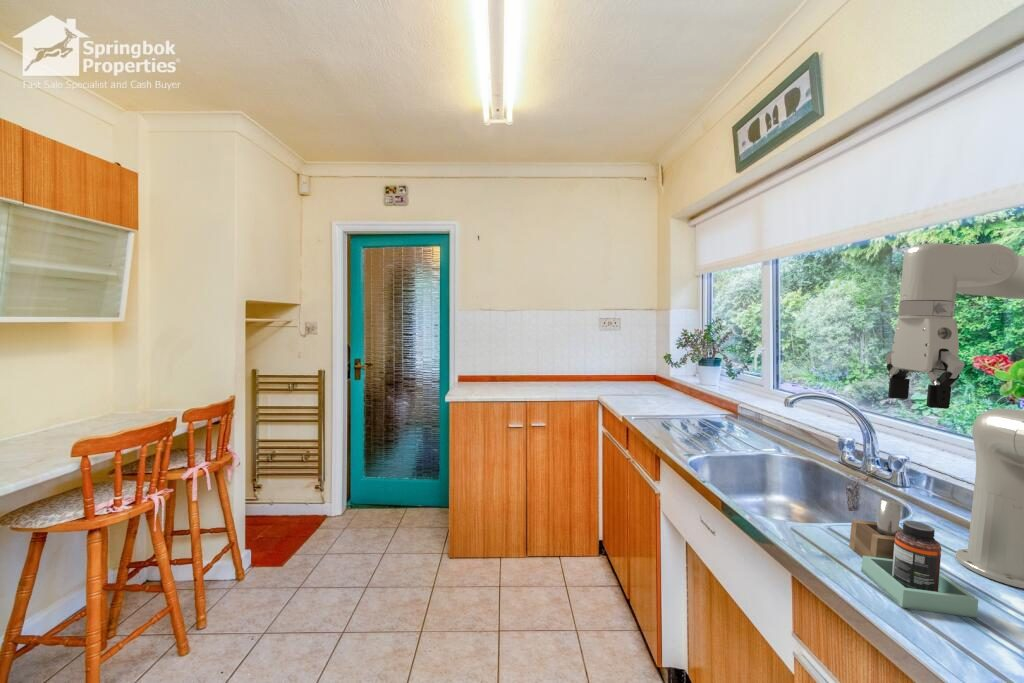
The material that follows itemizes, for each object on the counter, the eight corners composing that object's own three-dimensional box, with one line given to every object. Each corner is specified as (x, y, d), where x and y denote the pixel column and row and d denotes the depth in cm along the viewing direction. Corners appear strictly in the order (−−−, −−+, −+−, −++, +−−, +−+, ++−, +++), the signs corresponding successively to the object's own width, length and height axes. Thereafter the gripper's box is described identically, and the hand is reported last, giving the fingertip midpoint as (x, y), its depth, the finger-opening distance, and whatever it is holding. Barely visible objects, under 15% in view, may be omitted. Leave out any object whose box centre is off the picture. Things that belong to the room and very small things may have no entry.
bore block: (892, 552, 89) (894, 523, 89) (922, 574, 81) (925, 543, 81) (849, 547, 91) (851, 519, 90) (874, 568, 83) (877, 538, 82)
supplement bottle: (918, 580, 78) (923, 519, 78) (947, 601, 72) (954, 535, 72) (882, 576, 79) (887, 516, 78) (909, 597, 73) (915, 531, 73)
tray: (924, 579, 80) (926, 563, 80) (976, 617, 69) (978, 599, 69) (861, 571, 82) (862, 555, 81) (902, 607, 71) (903, 589, 71)
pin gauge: (888, 556, 87) (895, 499, 86) (898, 565, 84) (905, 506, 83) (869, 554, 88) (876, 497, 87) (879, 562, 85) (886, 504, 84)
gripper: (992, 311, 71) (981, 414, 72) (913, 313, 88) (905, 396, 89) (940, 309, 72) (930, 410, 73) (872, 312, 90) (864, 393, 90)
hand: (916, 402), depth 81 cm, fingers open, 9 cm apart
